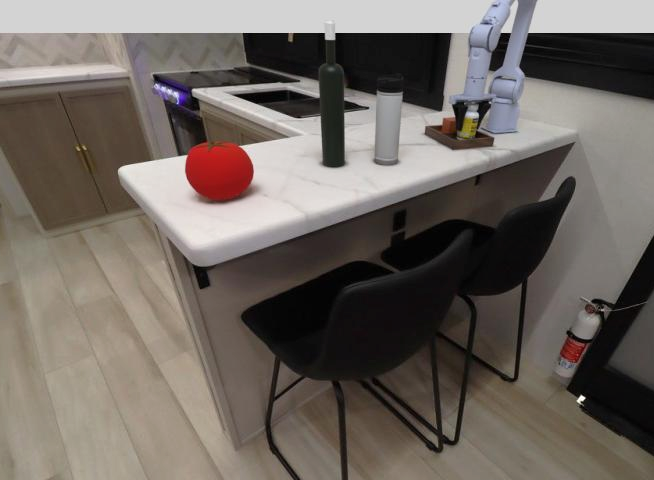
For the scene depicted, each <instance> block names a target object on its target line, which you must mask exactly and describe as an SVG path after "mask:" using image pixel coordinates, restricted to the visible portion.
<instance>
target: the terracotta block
mask: <svg viewBox="0 0 654 480" xmlns="http://www.w3.org/2000/svg"><path fill="white" fill-rule="evenodd" d="M441 125H442V130H441V133H444V132H457V131H458V130H456V120H455V116H451V117H449V116H448V117H442V124H441Z"/></svg>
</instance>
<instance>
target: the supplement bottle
mask: <svg viewBox="0 0 654 480" xmlns="http://www.w3.org/2000/svg"><path fill="white" fill-rule="evenodd" d="M465 106H467V107H468V109H467V112H466V114H465V118H464V122H463V127H462V131H459V130H458V131H457V139H458V140H464V139H474V138H475V133H476V129H477V123H478V119H479V114H478V113H477V110H478V106H479V104H476V103H465Z"/></svg>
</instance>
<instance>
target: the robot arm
mask: <svg viewBox="0 0 654 480" xmlns="http://www.w3.org/2000/svg"><path fill="white" fill-rule="evenodd" d="M516 1H517V9H516V12H515V16H514V19H513V24H512V28H511V32H510V37H509V40H508V44H507V47H506V52H505V57H504V60H503V64H502V66H501V67H499V68H498V69H497V70H495V71H494V72H493V74H492V77H491V81H490V82H489V84H488V88H487V93H485V91H486V86H487V80H488V75H489V71H490V65H491V60H492V55H493V51H495V49H496V48H497V46H498V43H499V39H500V37H501V34H502V30H503V27H504V26H505V25H506V22H507V21H508V19H509V18H510V15H511V7H512V5H514V3H515V2H516ZM537 3H538V0H494V1H493V2H491V4H490V6H489V8H487V10H486V13H485V14H484V16H483V17H482V19H481V20H480V22H479V23H477V24H475V25H474V26H473V27H472V28H470V31H469V34H468V37H467V48H468V50H467V57H468V62H467V69H466V77H465V82H464V88H463V93H459V94H453V95H452V94H450V95H449V98H448V104H451V107H452V111H453V114H454V117H455V120H456V130H459V131H462V127H463V122H464V118H465V114H466V112H467V109H468V107H467V106H465V103H476V104H479V106H478V110H477V113H478V114H479V119H478V123H477V129H476V130H478V131H479V129H480V128H481V129H483V130H485V131H488V132H490V133H492V134H503V133H515V132H517V131H518V130H517V125H518V120H519V117H520V113H521V105H520V103H519V102H518V101H519V100H520V99H521V98H522V95H523V92H524V89H525V88H524V87H525V81H526V75H525V73H524V71H522V69H521V68H520V64H521V60H522V57H523V53H524V50H525V46H526V42H527V39H528V35H529V31H530V27H531V24H532V21H533V16H534V13H535V10H536V6H537ZM487 113H488V117H487V123H486V125H482V122H483V120H484V118H485V116H486V115H487ZM481 125H482V126H481Z"/></svg>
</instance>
